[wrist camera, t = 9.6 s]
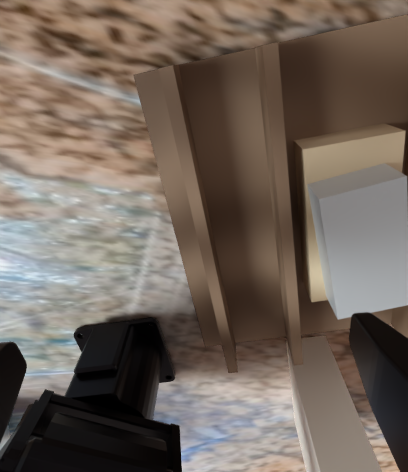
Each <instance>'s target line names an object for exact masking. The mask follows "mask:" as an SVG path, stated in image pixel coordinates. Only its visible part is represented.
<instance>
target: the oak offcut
mask: <svg viewBox="0 0 408 472" xmlns="http://www.w3.org/2000/svg"><path fill="white" fill-rule="evenodd" d="M405 132H406V131H405V130H402V129H399V128H396V127H394V126H391V125H388V124H379V125H374V126H369V127H363V128H358V129H353V130H348V131H342V132H337V133H332V134H326V135H321V136H316V137H310V138H305V139H300V140H294V152H295V166H296V181H297V196H298V210H299V225H300V240H301V255H302V269H303V282H304V285H305V287H306V290H307V292H308V294H309V297H310V299H311V302H317V301H325V300H328V299H327V297H326V292H325V286H324V281H323V275H322V269H321V263H320V257H319V251H318V245H317V239H316V233H315V227H314V221H313V216H312V210H311V204H310V198H309V192H308V186H307V184H310V183H314V182H317V181H321V180H325V179H328V178H332V177H336V176H339V175H343V174H347V173H350V172H354V171H358V170H361V169H365V168H369V167H372V166H376V165H380V164H383V163H385V164H387V165H389V166H391V167H392V168H394V169H396V170H397V171H399V172H401V173H402V168H403V156H404V144H405Z"/></svg>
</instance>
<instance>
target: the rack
mask: <svg viewBox="0 0 408 472" xmlns="http://www.w3.org/2000/svg"><path fill="white" fill-rule="evenodd" d="M134 79H135V83H136V86H137V90H138V94H139V98H140V102H141V105H142V109H143V113H144V117H145V121H146V124H147V128H148V132H149V136H150V140H151V143H152V147H153V151H154V155H155V159H156V162H157V166H158V170H159V174H160V178H161V181H162V185H163V189H164V193H165V197H166V200H167V204H168V208H169V212H170V216H171V219H172V223H173V227H174V231H175V235H176V238H177V242H178V246H179V250H180V254H181V257H182V261H183V265H184V269H185V273H186V276H187V280H188V284H189V288H190V292H191V295H192V299H193V303H194V307H195V310H196V314H197V318H198V322H199V326H200V329H201V333H202V337H203V341H204V345H205V347H208V346H216V345H222V347H223V351H224V356H225V360H226V364H227V369H228V373H234V372H238V370H237V358H236V346H235V343H240V342H248V341H256V340H264V339H272V338H280V337H286V339H287V342H288V346H289V350H290V353H291V357H292V361H293V365H294V366H295V365H303V354H302V341H301V335H304V334H312V333H320V332H328V331H336V330H344V329H350V323H351V317H348V318H343V319H339V320H338V319H337V317H336V315H335V313H334V311H333V309H332V307H331V305H330V303H329V301H328V300H325V301H317V302H311V299H310V297H309V294H308V292H307V290H306V287H305V285H304V282H303V269H302V255H301V240H300V225H299V210H298V196H297V181H296V166H295V152H294V140H300V139H305V138H310V137H316V136H321V135H326V134H332V133H337V132H342V131H348V130H353V129H358V128H363V127H369V126H374V125H379V124H388V125H391V126H394V127H396V128H399V129H402V130H405V131H406V132H405V144H404V156H403V168H402V173H403V174H404V175H406V176H407V192H408V14H407V15H402V16H398V17H393V18H389V19H384V20H380V21H375V22H371V23H366V24H362V25H357V26H352V27H348V28H343V29H339V30H334V31H330V32H325V33H321V34H316V35H312V36H307V37H303V38H298V39H294V40H289V41H285V42H280V43H278V42H276V43H271V44H266V45H262V46H259V47H257V48H253V49H248V50H244V51H239V52H235V53H230V54H226V55H221V56H217V57H212V58H208V59H203V60H199V61H194V62H190V63H185V64H181V65H172V66H167V67H163V68H158V70H153V71H149V72H144V73H140V74H135V75H134ZM372 314H373V315H375V316H376V317H378V318H379V319H381V320H382V321H384V322H385V323H387V324H392V326H393V327H394V328H395V330H397V331H398V332H400V333H401V334H403V335H404V336H406V337H407V338H408V305H406V306H402V307H397V308H392V309H387V310H382V311H377V312H372Z"/></svg>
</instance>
